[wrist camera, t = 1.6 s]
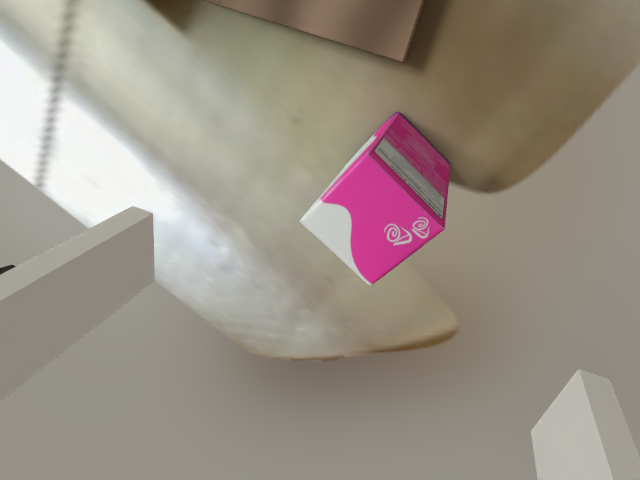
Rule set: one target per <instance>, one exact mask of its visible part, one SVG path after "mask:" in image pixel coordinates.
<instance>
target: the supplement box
mask: <svg viewBox="0 0 640 480" xmlns="http://www.w3.org/2000/svg"><path fill="white" fill-rule="evenodd" d="M449 174H450V163H449V162H448V161H447V160H446V159H445V158H444V157H443V156H442V155H441V154H440V153H439V152H438V151H437V150H436V149H435V148H434V147H433V146H432V145H431V144H430V143H429V141H428V140H427V139H426V138H425V137H424V136H423V135H422V134H421V133H420V132H419V131H418V130H417V129H416V128H415V127H414V126H413V125H412V124H411V123H410V122H409V121H408V120H407V119H406V118H405V117H404V116H403V115H402V114H401V113H400V112H396V113H395V114H393V115H392V116H391V117H390V118H389V119H388V120H387V121H386V122H385V123H384V124H383V125H382V126H381V127H380V128H379V129H378V130H377V131H376V132H375V133H374V134H373V135H372V136H371V137H370V138H369V139H368V140H367V142H366V143H365V144H364V145H363V146H362V147H361V148H360V149H359V150H358V151H357V152H356V154H355V155H354V156H353V157H352V158H351V159H350V160H349V161H348V163H347V164H346V166H345V167H344V168H343V169H342V171H341V172H340V173H339V174H338V175H337V177H336V178H335V179H334V180H333V181H332V183H331V184H330V185H329V186H328V187H327V189H326V190H325V191H324V192H323V193H322V195H321V196H320V197H319V198H318V199H317V201H316V202H315V203H314V204H313V205H312V206H311V208H310V209H309V210H308V211H307V213H306V214H305V215H304V216H303V217H302V218H301V220H300V222H301V223H302V224H303V225H304V226H305V227H306V228H307V229H308V230H310V231H311V232H312V233H313V234H314V235H315V236H316V237H317V238H319V239H320V240H321V241H322V242H323V243H324V244H325V245H326V246H327V247H328V248H330V249H331V250H332V251H333V252H334V253H335V254H336V255H337V256H338V257H339V258H340V259H341V260H342V261H343V262H344V263H346V264H347V265H348V266H349V267H350V268H351V269H352V270H353V271H354V272H355V273H356V274H357V275H358V276H359V277H360V278H361V279H362V280H364V281H365V282H366V283H367V284H368V285H369V286H370V285H372V284H374V283H375V282H376V281H378V280H379V279H380V278H382V277H383V276H384V275H386V274H387V273H388V272H389V271H391V270H392V269H393V268H395V267H396V266H397V265H399V264H400V263H401V262H403V261H404V260H405V259H406V258H408V257H409V256H410V255H412V254H413V253H414V252H416V251H417V250H418V249H419V248H421V247H422V246H423V245H424V244H426V243H427V242H428V241H429V240H431V239H432V238H434V237H435V236H436V235H438V234H439V233H440V232H442V231H443V230H444V228H445V217H446V205H447V194H448V184H449Z"/></svg>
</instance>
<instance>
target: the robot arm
mask: <svg viewBox="0 0 640 480" xmlns="http://www.w3.org/2000/svg"><path fill="white" fill-rule="evenodd" d="M153 281H155V275H154V236H153V213H150V212H148V211H145V210H142V209H139V208H137V207H134V206H132V207H130V208H128V209H126V210H125V211H123V212H121V213H119V214H117V215H115V216H113V217H111V218H109V219H107V220H105V221H103V222H101V223H99V224H97V225H96V226H94V227H92V228H90V229H88V230H86V231H84V232H82V233H80V234H78V235H76V236H74V237H72V238H70V239H68V240H67V241H65V242H63V243H61V244H59V245H57V246H55V247H53V248H51V249H49V250H47V251H45V252H43V253H41V254H39V255H37V256H36V257H34V258H32V259H30V260H28V261H26V262H24V263H22V264H20V265H18V266H14V265H9V266H6V267H3V268H0V402H1V401H2V400H3V399H5V398H6V397H7V396H9V395H10V394H11V393H12V392H14V391H15V390H16V389H17V388H19V387H20V386H21V385H23V384H24V383H25V382H26V381H27V380H29V379H30V378H31V377H33V376H34V375H35V374H36V373H38V372H39V371H40V370H42V369H43V368H44V367H45V366H47V365H48V364H49V363H50V362H52V361H53V360H54V359H56V358H57V357H58V356H59V355H61V354H62V353H63V352H64V351H66V350H67V349H68V348H70V347H71V346H72V345H73V344H75V343H76V342H77V341H79V340H80V339H81V338H82V337H84V336H85V335H86V334H87V333H89V332H90V331H91V330H92V329H94V328H95V327H96V326H97V325H99V324H100V323H101V322H103V321H104V320H105V319H106V318H108V317H109V316H110V315H112V314H113V313H114V312H115V311H117V310H118V309H119V308H120V307H122V306H123V305H124V304H126V303H127V302H128V301H129V300H131V299H132V298H133V297H134V296H136V295H137V294H138V293H140V292H141V291H142V290H143V289H145V288H146V287H147V286H148V285H149V284H151V283H152V282H153ZM531 436H532V444H533V451H534V458H535V464H536V471H537V478H538V480H640V456H639V454H638V451H637V448H636V446H635V443H634V441H633V438H632V436H631V433H630V431H629V428H628V425H627V423H626V420H625V418H624V415H623V413H622V410H621V407H620V405H619V402H618V400H617V397H616V395H615V392H614V390H613V387H612V384H611V382H610V380H609V379H606V378H603V377H600V376H598V375H595V374H592V373H589V372H587V371H584V370H581V369H578V370H577V372H576V373H575V374H574V375H573V377H572V378H571V380H570V381H569V382H568V383H567V385H566V386H565V387H564V389H563V390H562V391H561V392H560V394H559V395H558V397H557V398H556V399H555V400H554V402H553V403H552V404H551V406H550V407H549V408H548V409H547V411H546V412H545V413H544V415H543V416H542V417H541V419H540V420H539V421H538V422H537V424H536V425H535V426H534V428H533V429H532V430H531Z"/></svg>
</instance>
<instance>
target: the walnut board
mask: <svg viewBox="0 0 640 480" xmlns="http://www.w3.org/2000/svg"><path fill="white" fill-rule="evenodd" d="M205 1H208V2H211V3H214V4H217V5H221V6H224V7H227V8H230V9H234V10H237V11H240V12H243V13H246V14H250V15H253V16H256V17H259V18H263V19H266V20H269V21H272V22H275V23H279V24H282V25H285V26H288V27H292V28H295V29H298V30H301V31H305V32H308V33H311V34H314V35H317V36H321V37H324V38H327V39H330V40H334V41H337V42H340V43H343V44H346V45H350V46H353V47H356V48H359V49H363V50H366V51H369V52H372V53H375V54H379V55H382V56H385V57H388V58H392V59H395V60H398V61H401V62H403V61H405V60H406V57H407V54H408V51H409V48H410V45H411V42H412V39H413V36H414V32H415V29H416V26H417V23H418V20H419V17H420V14H421V11H422V8H423V5H424V2H425V0H205Z"/></svg>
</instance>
